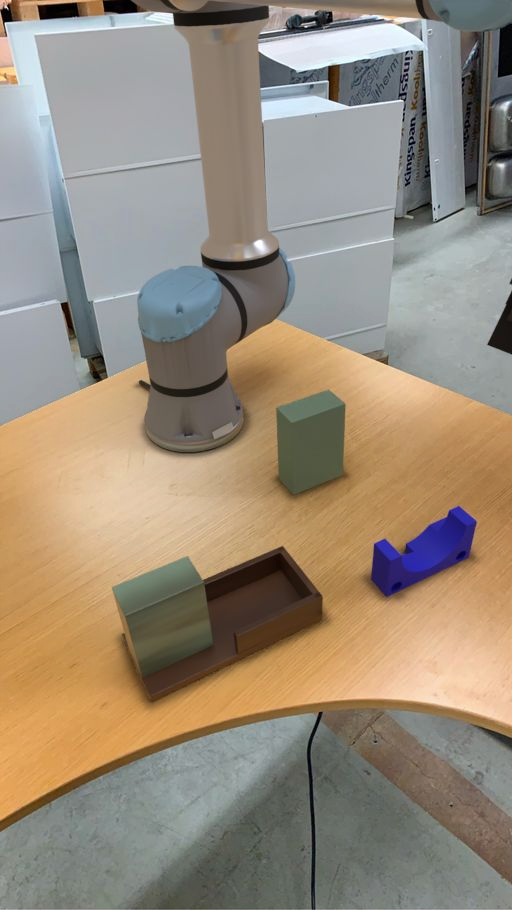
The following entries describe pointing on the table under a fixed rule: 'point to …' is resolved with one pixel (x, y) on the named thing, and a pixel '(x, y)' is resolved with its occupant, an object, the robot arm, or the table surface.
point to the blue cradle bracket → (423, 553)
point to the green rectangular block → (310, 441)
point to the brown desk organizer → (211, 616)
